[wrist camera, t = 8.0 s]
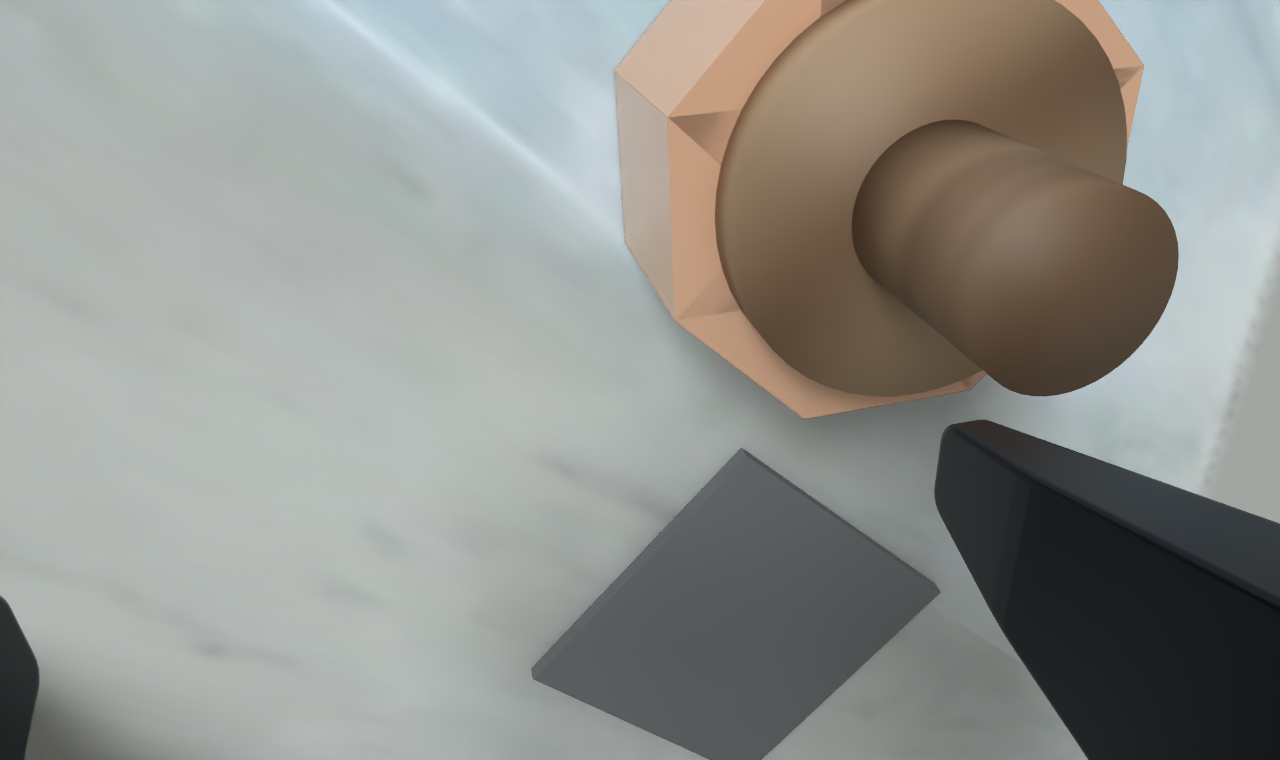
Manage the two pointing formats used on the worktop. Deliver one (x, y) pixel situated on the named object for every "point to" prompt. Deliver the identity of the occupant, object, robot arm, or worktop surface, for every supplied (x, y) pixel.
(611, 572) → the worktop surface
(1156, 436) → the worktop surface
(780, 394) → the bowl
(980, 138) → the lid
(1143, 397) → the worktop surface
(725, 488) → the mat
